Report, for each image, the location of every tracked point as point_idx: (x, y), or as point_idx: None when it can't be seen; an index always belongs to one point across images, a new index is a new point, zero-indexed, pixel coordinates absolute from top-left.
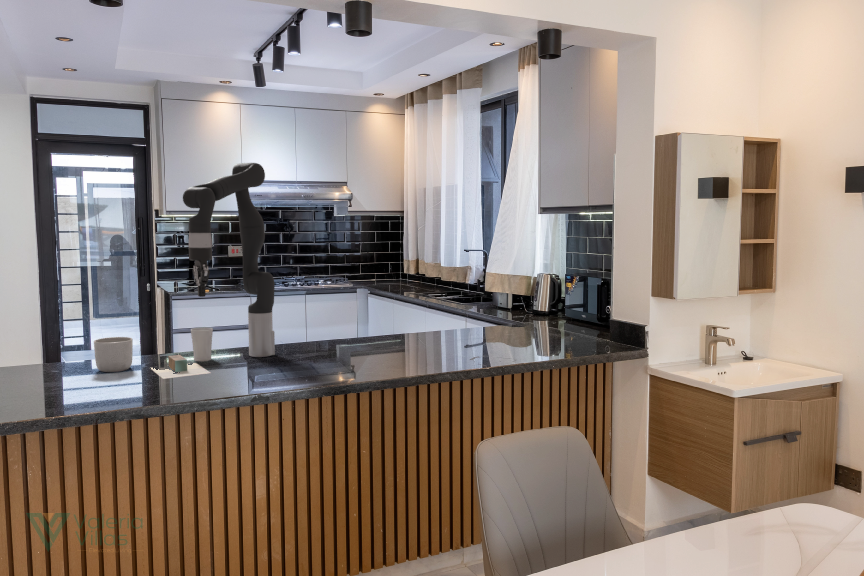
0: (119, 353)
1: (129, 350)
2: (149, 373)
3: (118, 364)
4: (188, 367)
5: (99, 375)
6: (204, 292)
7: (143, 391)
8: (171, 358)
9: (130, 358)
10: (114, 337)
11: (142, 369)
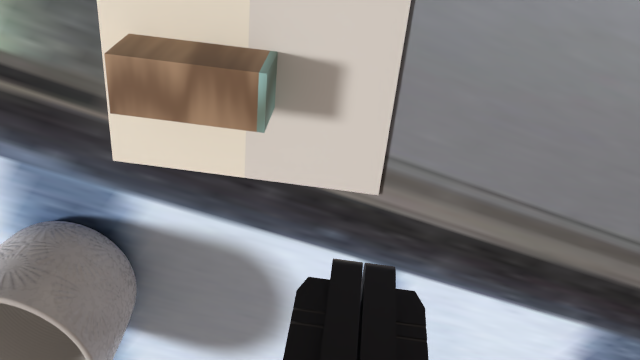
0: (115, 325)
1: (85, 290)
2: (221, 193)
3: (132, 294)
4: (198, 16)
5: (155, 324)
6: (425, 325)
7: (527, 305)
8: (181, 121)
9: (93, 258)
10: None
11: (119, 187)
